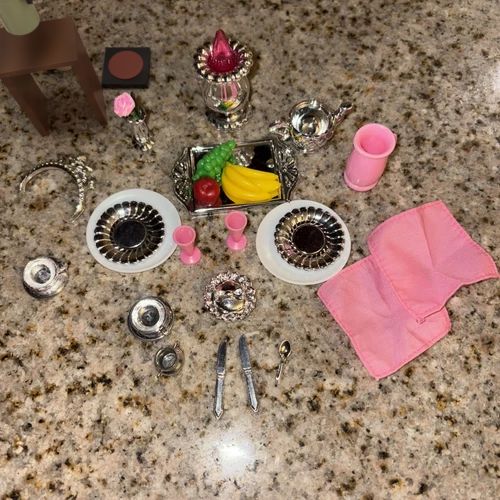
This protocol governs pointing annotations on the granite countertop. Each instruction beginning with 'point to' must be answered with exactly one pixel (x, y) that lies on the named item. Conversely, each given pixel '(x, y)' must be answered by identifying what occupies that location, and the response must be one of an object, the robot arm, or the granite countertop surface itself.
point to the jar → (18, 16)
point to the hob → (126, 67)
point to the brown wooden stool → (47, 67)
